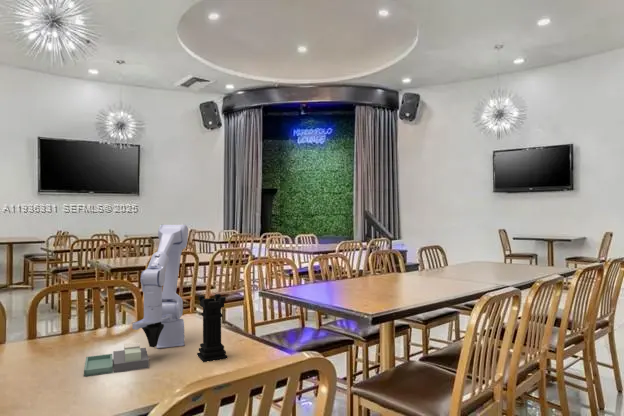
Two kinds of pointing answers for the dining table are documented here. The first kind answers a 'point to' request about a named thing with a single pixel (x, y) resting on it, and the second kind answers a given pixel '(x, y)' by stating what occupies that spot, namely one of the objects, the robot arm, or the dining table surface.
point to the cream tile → (131, 346)
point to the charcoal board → (132, 365)
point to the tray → (98, 365)
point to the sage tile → (132, 354)
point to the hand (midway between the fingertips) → (153, 346)
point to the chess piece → (212, 329)
